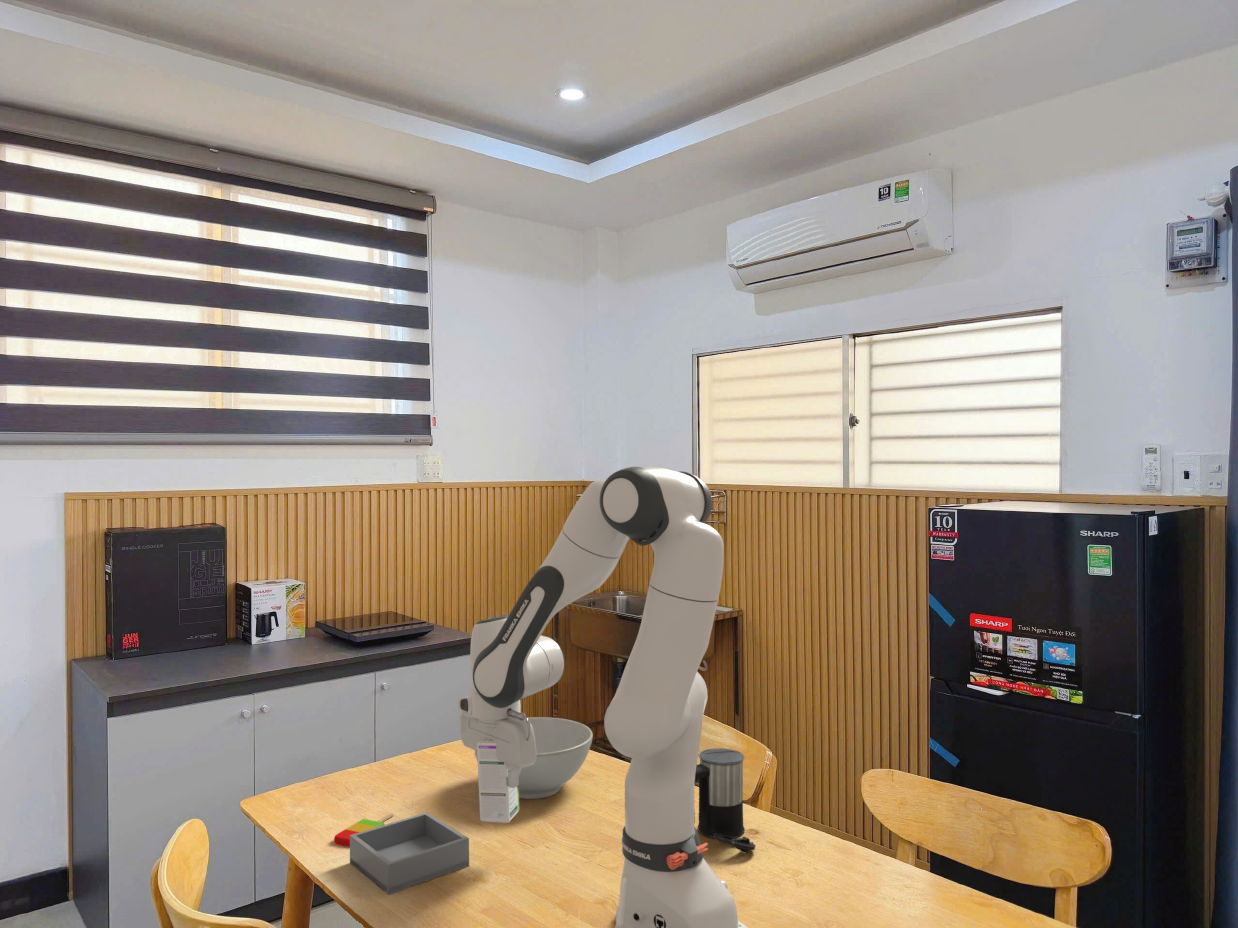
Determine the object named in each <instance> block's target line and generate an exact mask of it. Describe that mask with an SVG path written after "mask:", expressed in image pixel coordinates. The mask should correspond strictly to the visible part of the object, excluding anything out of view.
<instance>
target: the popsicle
mask: <svg viewBox="0 0 1238 928" xmlns="http://www.w3.org/2000/svg"><path fill="white" fill-rule="evenodd" d="M393 816H394V813H388V814H387V815H385V816H383V817H382V818H380V819H378V820H371V819H366V818H363V819H360V820H359V821H357V822H356V823H354V824H351V825H350V826H348V827H347V828H345V829H344V830H342V831H340V832H338V833H336V834H335V835H334V838H333V839H334V840H333V841H334V842H333V843H334V844H335V845H338V846H343V847H348V848H350V835H353V834H356V833H359V832H363V831H366V830H369V829H373V828H376V827H379V826H383V825H386V824H385V823H384V822H385V821H387V820H389V819H390V818H392V817H393Z"/></svg>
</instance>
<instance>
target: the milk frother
mask: <svg viewBox="0 0 1238 928" xmlns="http://www.w3.org/2000/svg"><path fill="white" fill-rule="evenodd" d="M698 759H699V764H697V765H696V772H695V784H696V782H697V781H698V782H699V783H698V825H697V830H698V831H699V833H701V834H702V835H704V836H705V837H709V838H712V839H715V840H716V841H718V842H720V843H723V844H726V845H729V846H730V847H733V848H735V849H737V850H738V851H739V850H740V851H741V852H742V853H745V854H747V853H748V852H749V851H755V850H756V845H755V844H754V841H751V840H750V837H746V836H742V835H744V833H745V831H746V830H745V826H744V805H743V803H744V798H743V797H744V774H743V773H744V760H745V755H744V754H743V753H742V752H740V751H738V750H735V749H731V748H720V747H719V748H718V747H717V748H715V747H714V748H708V749H707V748H706V749H703V750H701V751H700V752H698ZM695 815H696V813H695V807H694V825H695V822H696V820H695V819H696V816H695ZM740 836H742V837H740Z"/></svg>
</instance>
